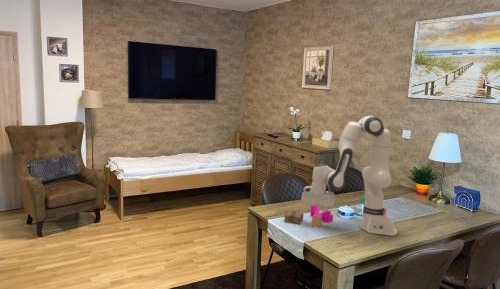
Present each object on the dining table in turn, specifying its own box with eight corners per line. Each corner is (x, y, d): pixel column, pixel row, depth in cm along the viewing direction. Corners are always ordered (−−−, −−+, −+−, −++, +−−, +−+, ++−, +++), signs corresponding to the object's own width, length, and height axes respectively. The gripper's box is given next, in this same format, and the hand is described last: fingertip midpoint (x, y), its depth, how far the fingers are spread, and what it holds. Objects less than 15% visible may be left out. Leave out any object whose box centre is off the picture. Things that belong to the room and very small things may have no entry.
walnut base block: (303, 220, 250) (303, 212, 249) (299, 225, 241) (300, 217, 240) (288, 217, 253) (288, 210, 253) (284, 222, 244) (284, 215, 243)
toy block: (332, 221, 250) (333, 210, 249) (325, 223, 246) (326, 211, 245) (317, 214, 262) (317, 204, 261) (310, 216, 259) (311, 205, 258)
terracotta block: (321, 224, 242) (321, 215, 241) (319, 227, 238) (319, 217, 237) (313, 223, 244) (314, 214, 243) (311, 225, 240) (312, 216, 239)
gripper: (336, 191, 237) (333, 212, 238) (304, 186, 245) (302, 206, 247) (333, 193, 231) (331, 215, 233) (301, 188, 239) (299, 209, 241)
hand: (316, 210), depth 240 cm, fingers open, 8 cm apart
